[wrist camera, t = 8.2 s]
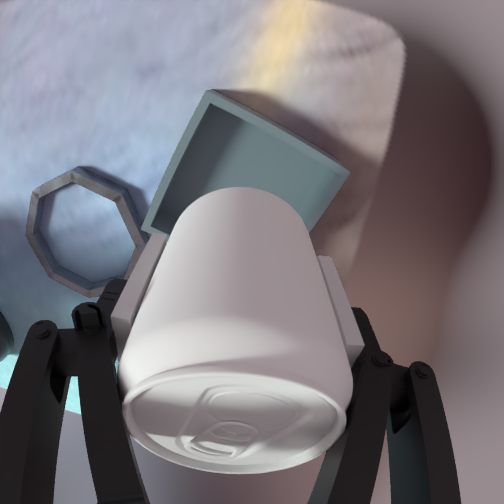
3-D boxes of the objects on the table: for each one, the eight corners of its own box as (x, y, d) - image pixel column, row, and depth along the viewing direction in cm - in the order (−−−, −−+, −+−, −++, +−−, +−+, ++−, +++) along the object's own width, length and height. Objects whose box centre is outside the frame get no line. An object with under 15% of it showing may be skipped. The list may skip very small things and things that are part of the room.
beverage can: (334, 223, 18) (414, 398, 8) (265, 317, 22) (274, 486, 12) (207, 157, 16) (139, 309, 6) (154, 270, 20) (93, 441, 10)
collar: (28, 255, 33) (22, 262, 31) (47, 151, 27) (39, 155, 25) (124, 304, 36) (120, 312, 35) (164, 206, 30) (160, 213, 29)
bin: (152, 210, 30) (140, 229, 27) (211, 89, 25) (205, 90, 21) (267, 265, 34) (269, 288, 30) (338, 160, 28) (351, 172, 25)
